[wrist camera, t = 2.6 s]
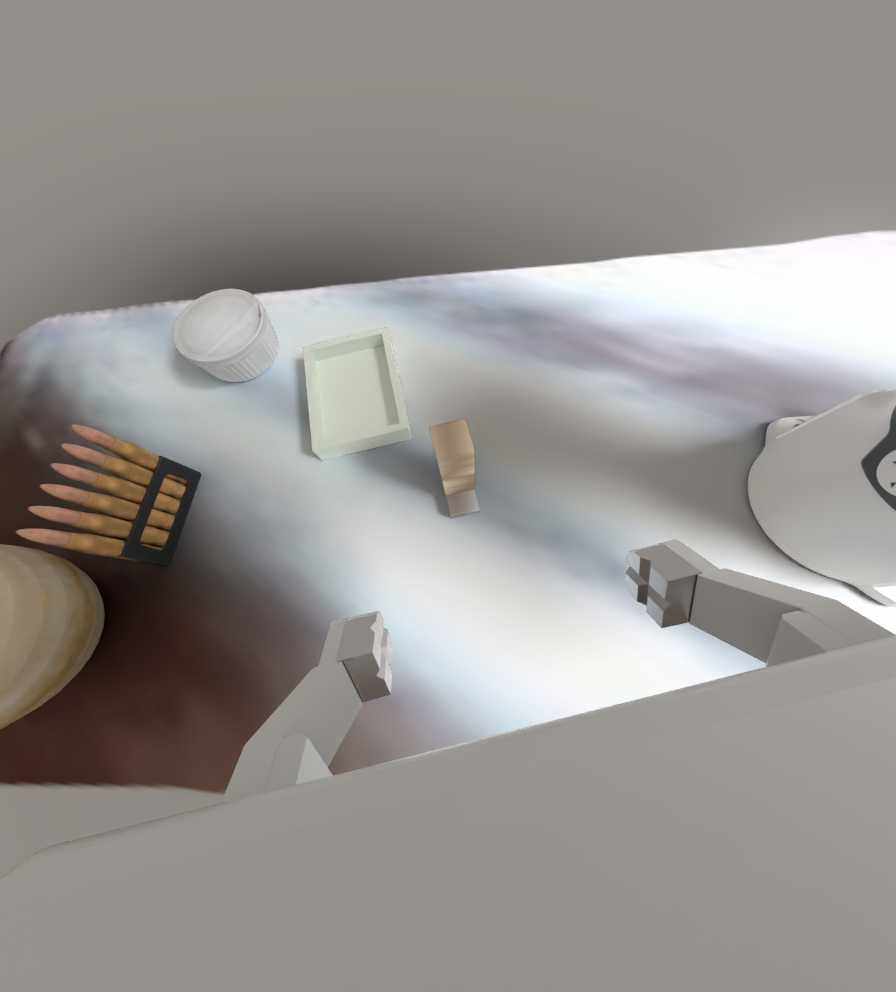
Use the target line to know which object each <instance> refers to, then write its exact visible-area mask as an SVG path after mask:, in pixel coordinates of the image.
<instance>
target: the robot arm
mask: <svg viewBox="0 0 896 992" xmlns="http://www.w3.org/2000/svg"><path fill="white" fill-rule="evenodd" d="M748 496H749V501H750V505H751V508H752V510H753V513H754V515H755V517H756V519H757V521H758V523H759V524H760V526H761V527H762V529H763V530H764V532H765V533H766V534H767V536H768V537H769V538H770V539H771V540H772V541H773V542H774V543H775V544H776V545H777V546H778V547H779V548H780V549H781V550H782V551H783V552H784V553H786V554H787V555H788V556H789V557H791V558H792V559H794V560H795V561H797V562H798V563H800V564H801V565H803V566H805V567H807V568H809V569H811V570H813V571H815V572H817V573H819V574H822V575H825V576H827V577H831V578H834V579H837V580H840V581H843V582H846V583H849V584H851V585H853V586H855V587H857V588H858V589H859V590H861V591H862V592H864V593H865V594H867V595H868V596H870V597H871V598H873V599H875V600H876V601H878V602H880V603H882V604H884V605H886V606H890V607H896V389H884V390H881V391H876V390H870V391H867V392H864V393H862V394H860V395H858V396H855V397H854V398H852V399H850V400H848V401H846V402H844V403H842V404H840V405H838V406H836V407H834V408H832V409H830V410H828V411H826V412H824V413H822V414H820V415H818V416H801V417H785V418H780V419H778V420H776V421H774V422H772V423H770V424H769V426H768V428H767V431H766V439H765V447H764V449H763V450H762V452H761V453H760V455H759V456H758V457H757V459H756V460H755V462H754V463H753V465H752V467H751V470H750V473H749V477H748ZM626 562H627V563H628V564H629V565H630V567H629V569H628V570H627V571H626V573H625V581H626V584H627V587H628V590H629V592H630V593H631V595H632V596H633V597H634V598H635V600H636V601H637V602H640V603H642V604H645V605H647V613H648V614H649V615H650V616H651V617H652V618H653V619H654V620H655V621H656V623H657V624H658V625H659V626H660V627H661V628H665V627H669V626H674V625H679V624H683V623H688V622H690V623H689V624H691V625H693V626H695V627H697V628H699V629H701V630H703V631H705V632H707V633H709V634H710V635H712V636H714V637H716V638H718V639H720V640H722V641H724V642H726V643H728V644H730V645H732V646H734V647H736V648H737V649H739V650H741V651H743V652H745V653H747V654H749V655H751V656H753V657H755V658H757V659H759V660H761V661H763V662H765V663H766V665H765V668H761V669H757V670H753V671H749V672H745V673H741V674H737V675H733V676H729V677H725V678H721V679H717V680H713V681H709V682H705V683H701V684H697V685H693V686H689V687H685V688H681V689H677V690H673V691H669V692H665V693H661V694H657V695H653V696H649V697H645V698H641V699H637V700H633V701H629V702H625V703H621V704H617V705H614V706H610V707H606V708H602V709H598V710H594V711H590V712H586V713H582V714H578V715H574V716H570V717H566V718H562V719H558V720H554V721H550V722H546V723H542V724H538V725H534V726H529V727H525V728H521V729H517V730H513V731H509V732H505V733H501V734H497V735H493V736H489V737H485V738H481V739H477V740H473V741H469V742H465V743H461V744H457V745H453V746H449V747H445V748H442V749H438V750H434V751H430V752H426V753H422V754H418V755H414V756H410V757H406V758H402V759H398V760H394V761H390V762H386V763H382V764H378V765H374V766H370V767H366V768H362V769H358V770H354V771H350V772H346V773H342V774H338V775H334V776H333V775H332V774H331V772H330V770H329V769H328V766H329V764H330V762H331V760H332V758H333V757H334V755H335V753H336V751H337V750H338V748H339V746H340V744H341V742H342V741H343V739H344V737H345V735H346V733H347V732H348V730H349V728H350V726H351V725H352V723H353V721H354V719H355V717H356V716H357V714H358V712H359V710H360V709H361V707H362V705H363V703H362V702H366V701H369V700H373V699H376V698H380V697H384V696H387V695H391V679H392V673H391V671H390V668H389V665H390V663H391V662H392V643H391V639H390V635H389V632H388V630H387V629H385V628H384V627H383V624H384V619H383V617H382V614H381V612H379V611H377V612H372V613H368V614H363V615H358V616H354V617H349V618H346V619H341V620H336V621H332V623H331V624H330V625H329V629H328V632H327V636H326V639H325V643H324V647H323V650H322V654H321V657H320V661H319V665H318V667H315V668H313V669H312V670H311V671H310V672H309V673H308V674H307V675H306V677H305V678H304V679H303V680H302V681H301V682H300V683H299V684H298V686H297V687H296V688H295V689H294V690H293V691H292V692H291V693H290V695H289V696H288V697H287V698H286V699H285V700H284V701H283V702H282V704H281V705H280V706H279V707H278V708H277V709H276V710H275V712H274V713H273V714H272V715H271V716H270V717H269V718H268V719H267V721H266V722H265V723H264V724H263V725H262V726H261V727H260V728H259V730H258V731H257V732H256V733H255V734H254V735H253V736H252V737H251V739H250V740H249V741H248V742H247V743H246V744H245V746H244V748H243V751H242V753H241V755H240V758H239V760H238V763H237V765H236V768H235V770H234V773H233V775H232V778H231V780H230V782H229V785H228V787H227V790H226V792H225V795H224V797H223V800H222V802H221V804H218V805H214V806H210V807H206V808H202V809H198V810H194V811H190V812H186V813H182V814H178V815H174V816H170V817H166V818H162V819H158V820H154V821H150V822H146V823H142V824H138V825H134V826H130V827H126V828H122V829H118V830H114V831H110V832H106V833H103V834H98V835H94V836H90V837H85V838H81V839H77V840H72V841H68V842H64V843H60V844H57V845H53V846H50V847H47V848H45V849H42V850H40V851H38V852H36V853H34V854H33V855H31V856H29V857H28V858H26V859H25V860H23V861H22V862H21V863H19V864H18V865H17V866H16V867H14V868H13V869H12V870H11V871H10V872H8V873H7V874H6V875H4V876H3V877H2V878H1V879H0V992H896V635H895V634H893V633H891V632H889V631H888V630H886V629H884V628H883V627H881V626H879V625H878V624H876V623H874V622H872V621H871V620H869V619H867V618H866V617H864V616H862V615H861V614H859V613H857V612H855V611H854V610H852V609H850V608H849V607H847V606H845V605H844V604H842V603H840V602H838V601H837V600H834V599H830V598H827V597H823V596H820V595H816V594H813V593H809V592H806V591H802V590H799V589H795V588H792V587H788V586H785V585H781V584H778V583H774V582H771V581H767V580H764V579H760V578H757V577H753V576H750V575H746V574H743V573H739V572H736V571H732V570H728V569H725V568H724V569H718V568H717V567H715V566H714V565H713V564H711V563H710V562H708V561H707V560H705V559H704V558H703V557H701V556H700V555H698V554H697V553H695V552H694V551H693V550H691V549H690V548H688V547H687V546H686V545H684V544H683V543H681V542H680V541H677V540H671V541H668V542H664V543H660V544H657V545H653V546H649V547H645V548H641V549H637V550H632V551H629V552H628V554H627V555H626Z"/></svg>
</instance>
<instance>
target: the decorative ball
mask: <svg viewBox="0 0 896 992" xmlns="http://www.w3.org/2000/svg"><path fill="white" fill-rule="evenodd" d="M104 618H105V612H104V604H103V600H102V598H101V595H100V593H99V591H98V588H97V586H96V585H95V583H94V582H93V581H92V580H91V578H90V577H89V576H88V575H87V574H86V573H84V572H83V571H82V570H80V569H79V568H78V567H76V566H75V565H73V564H72V563H71V562H69V561H68V560H65V559H63V558H60V557H58V556H56V555H53V554H50V553H47V552H44V551H41V550H37V549H32V548H27V547H21V546H13V545H3V544H0V729H1V728H3V727H5V726H7V725H9V724H10V723H12V722H14V721H16V720H18V719H19V718H21V717H23V716H25V715H26V714H28V713H30V712H31V711H33V710H35V709H36V708H38V707H40V706H41V705H42V704H44V703H45V702H46V701H48V700H49V699H50V698H52V697H53V696H54V695H56V694H57V693H58V692H60V691H61V690H62V689H63V688H64V687H65V686H66V685H67V684H68V683H69V682H70V681H71V680H72V679H73V678H74V677H75V676H76V675H77V674H78V673H79V672H80V670H81V669H82V668H83V667H84V665H85V664H86V663H87V661H88V660H89V659H90V657H91V656H92V654H93V652H94V650H95V648H96V646H97V645H98V643H99V640H100V637H101V634H102V631H103V627H104Z"/></svg>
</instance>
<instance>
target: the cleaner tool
mask: <svg viewBox="0 0 896 992" xmlns="http://www.w3.org/2000/svg"><path fill="white" fill-rule="evenodd" d="M429 429H430V433H431V437H432V441H433V446H434V450H435V454H436V458H437V462H438V466H439V470H440V474H441V478H442V482H443V486H444V490H445V494H446V499H447V503H448V507H449V511H450V515H451V518H455V517H459V516H463V515H468V514H472V513H476V512H479V509H480V507H479V503H478V500H477V496H476V492H475V450H474V446H473V443H472V439H471V436H470V432H469V429H468V425H467V422H466V418H465V419H461V420H457V421H452V422H448V423H444V424H440V425H436V426H431V427H429Z"/></svg>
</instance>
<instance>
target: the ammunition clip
mask: <svg viewBox="0 0 896 992" xmlns="http://www.w3.org/2000/svg"><path fill="white" fill-rule="evenodd" d="M71 428H72V429H73V430H74V431H75V432H77V433H78V434H79V435H81V436H82V437H84V438H85V439H87V440H89V441H90V442H92V443H94V444H96V445H98V446H101V447H103V448H104V449H106V450H108V451H110V452H112V453H114V454H115V455H117V456H118V457H120V458H122V459H118V458H114V457H112V456H109V455H106V454H103V453H100V452H98V451H95V450H92V449H89V448H86V447H82V446H78V445H73V444H61V447H62V448H63V449H65V450H66V451H67V452H69V453H70V454H72V455H73V456H75V457H77V458H79V459H81V460H83V461H85V462H87V463H90V464H92V465H95V466H96V467H98V468H101V469H103V470H105V471H107V472H108V473H110V474H112V475H114V476H117V477H119V478H117V477H113V476H108V475H104V474H101V473H98V472H93V471H91V470H88V469H84V468H81V467H77V466H72V465H67V464H59V463H52V464H50V466H51V467H52V468H53V469H54V470H56V471H57V472H59V473H61V474H62V475H64V476H66V477H68V478H71V479H73V480H75V481H78V482H81V483H84V484H86V485H88V486H91V487H94V488H96V489H98V490H100V491H102V492H104V493H107V494H110V495H113V496H116V497H119V498H122V499H125V500H122V499H119V498H116V497H113V496H109V495H105V494H98V493H93V492H89V491H84V490H81V489H77V488H73V487H69V486H63V485H56V484H41V485H40V488H42V489H43V490H44V491H46V492H48V493H49V494H51V495H53V496H56V497H58V498H61V499H63V500H66V501H69V502H73V503H76V504H79V505H82V506H85V507H88V508H90V509H92V510H94V511H97V512H100V513H104V514H108V515H112V516H115V517H119V519H117V518H113V517H109V516H105V515H101V514H94V513H85V512H80V511H74V510H70V509H65V508H59V507H51V506H31V507H28V510H30V511H31V512H32V513H34V514H36V515H38V516H40V517H43V518H46V519H48V520H52V521H55V522H58V523H63V524H67V525H70V526H74V527H78V528H81V529H83V530H86V531H89V532H93V533H97V534H102V535H107V536H111V538H109V537H103V536H98V535H93V534H80V533H72V532H63V531H57V530H49V529H21V530H17V531H16V533H17V534H18V535H20V536H22V537H24V538H26V539H29V540H32V541H35V542H39V543H43V544H47V545H52V546H58V547H62V548H67V549H71V550H74V551H77V552H81V553H87V554H93V555H100V556H107V557H113V558H120V559H125V560H130V561H136V562H141V563H146V564H151V565H159V566H169V565H170V562H171V559H172V557H173V554H174V551H175V548H176V545H177V542H178V539H179V537H180V534H181V531H182V528H183V525H184V522H185V519H186V517H187V514H188V511H189V508H190V505H191V502H192V499H193V497H194V494H195V491H196V488H197V485H198V482H199V480H200V477H201V473H200V472H197V471H195V470H193V469H190V468H188V467H186V466H183V465H181V464H179V463H176V462H174V461H172V460H169V459H167V458H165V457H162V456H157V455H155V454H153V453H151V452H149V451H147V450H145V449H143V448H141V447H139V446H137V445H134V444H132V443H129V442H126V441H122V440H120V439H118V438H115V437H112V436H110V435H108V434H106V433H103V432H101V431H98V430H95V429H92V428H89V427H85V426H81V425H71ZM123 459H124V460H123ZM126 460H127V461H126ZM128 461H129V462H128ZM130 462H131V463H130ZM133 463H134V464H133ZM135 464H136V465H135ZM120 478H122V479H120ZM123 479H125V480H123ZM126 480H127V481H126ZM128 481H130V482H128ZM131 482H133V483H131ZM145 487H146V488H145ZM161 493H162V494H161ZM139 504H141V505H139ZM152 508H153V509H152ZM155 509H156V510H155ZM158 510H160V511H158ZM131 521H134V523H133V522H131ZM146 525H149V526H153V527H156V528H153V527H149V526H146ZM124 539H126V541H124ZM141 543H146V544H150V545H145V544H141Z"/></svg>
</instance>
